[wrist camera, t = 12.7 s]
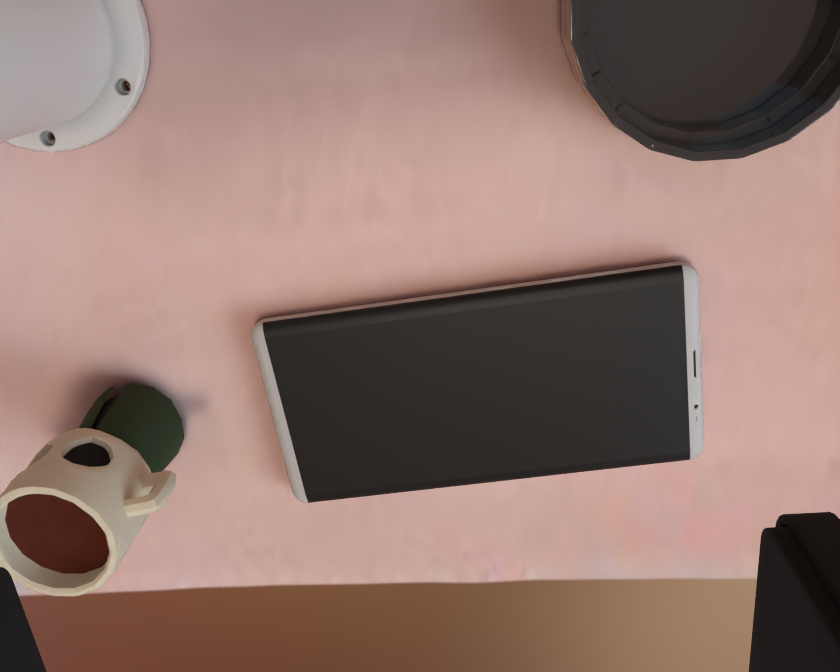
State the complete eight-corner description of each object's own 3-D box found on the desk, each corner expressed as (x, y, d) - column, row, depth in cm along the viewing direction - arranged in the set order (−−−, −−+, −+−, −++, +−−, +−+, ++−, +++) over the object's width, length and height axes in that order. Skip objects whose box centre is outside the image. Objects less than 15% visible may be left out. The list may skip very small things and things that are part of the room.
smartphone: (252, 315, 50) (245, 326, 48) (692, 254, 47) (700, 263, 46) (299, 492, 55) (294, 507, 53) (698, 446, 52) (706, 461, 51)
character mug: (199, 358, 51) (121, 469, 39) (235, 451, 54) (171, 581, 42) (45, 389, 53) (-75, 505, 41) (87, 478, 55) (-15, 612, 43)
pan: (560, 154, 45) (570, 169, 41) (559, -152, 39) (570, -167, 35) (833, 136, 44) (869, 150, 40) (874, -181, 38) (920, -201, 34)
